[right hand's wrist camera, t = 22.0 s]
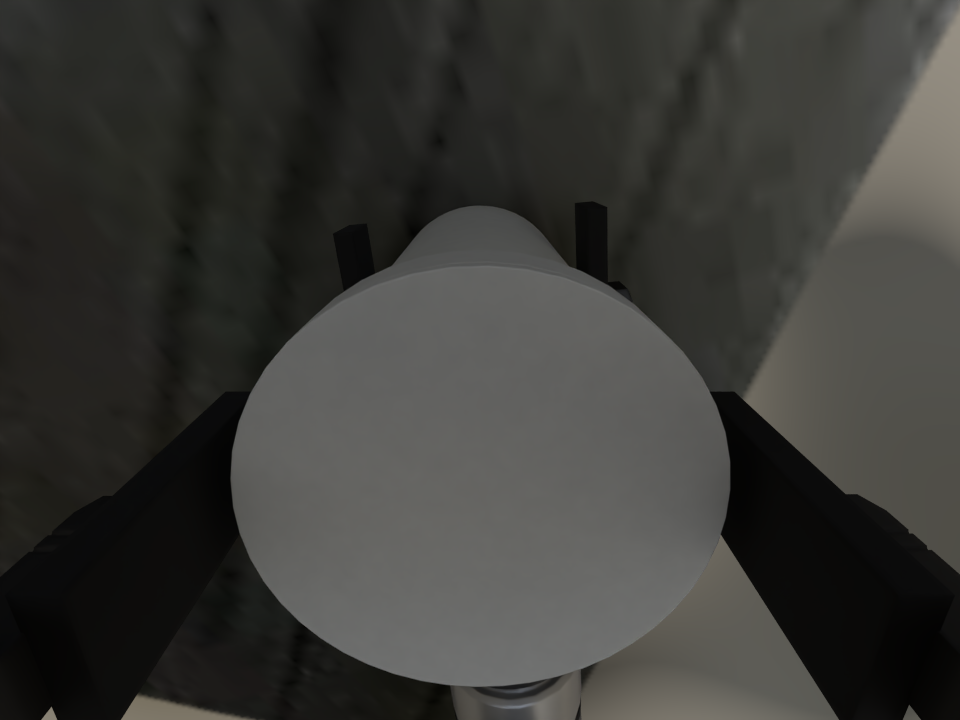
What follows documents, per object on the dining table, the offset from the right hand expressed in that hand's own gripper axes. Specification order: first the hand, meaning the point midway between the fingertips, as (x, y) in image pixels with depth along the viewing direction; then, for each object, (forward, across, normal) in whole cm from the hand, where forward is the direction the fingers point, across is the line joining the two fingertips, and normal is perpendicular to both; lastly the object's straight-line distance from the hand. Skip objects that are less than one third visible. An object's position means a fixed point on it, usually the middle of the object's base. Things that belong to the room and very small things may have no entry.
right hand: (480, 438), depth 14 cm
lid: (-3, 0, 0) cm, 3 cm away
